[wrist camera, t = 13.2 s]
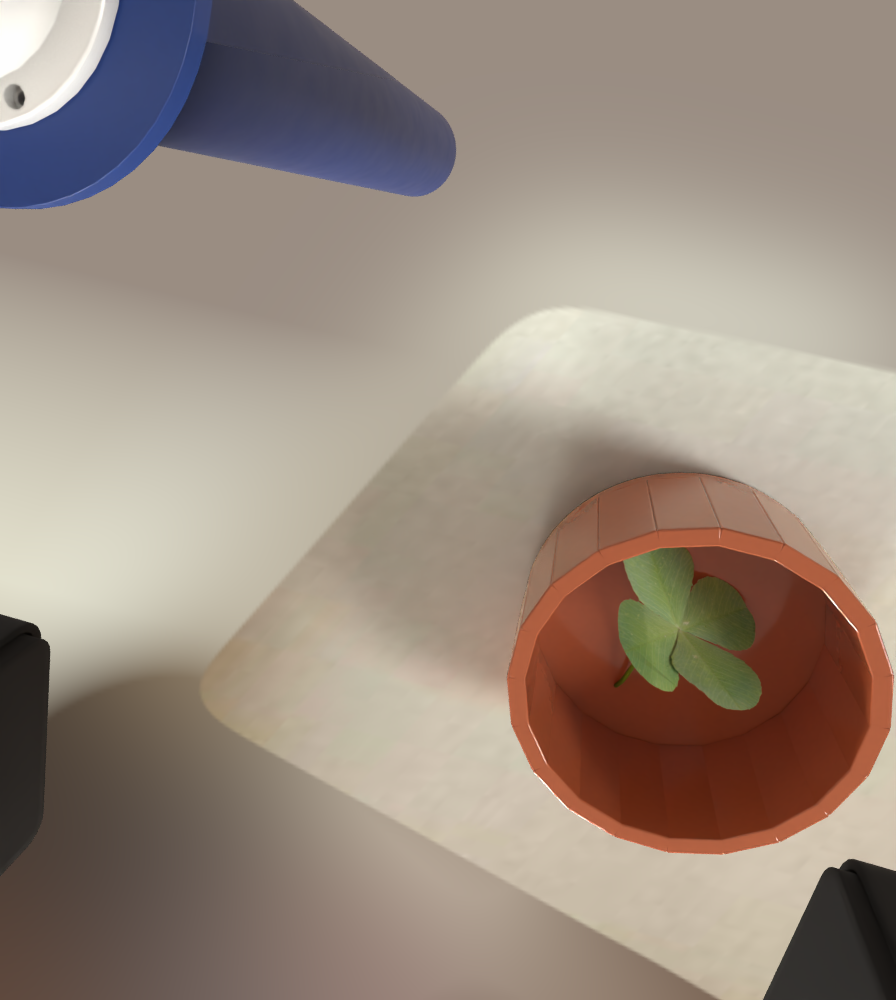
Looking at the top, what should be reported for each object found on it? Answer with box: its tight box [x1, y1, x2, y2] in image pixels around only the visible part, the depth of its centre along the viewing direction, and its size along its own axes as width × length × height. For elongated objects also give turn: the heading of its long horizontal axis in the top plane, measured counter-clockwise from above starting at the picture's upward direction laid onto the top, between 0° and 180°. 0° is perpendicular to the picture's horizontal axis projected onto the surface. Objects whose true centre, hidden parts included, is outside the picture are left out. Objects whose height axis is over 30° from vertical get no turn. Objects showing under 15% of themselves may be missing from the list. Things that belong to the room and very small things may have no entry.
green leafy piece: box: [614, 547, 762, 710], centre depth 34 cm, size 7×8×6 cm
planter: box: [507, 472, 894, 855], centre depth 33 cm, size 13×13×7 cm
